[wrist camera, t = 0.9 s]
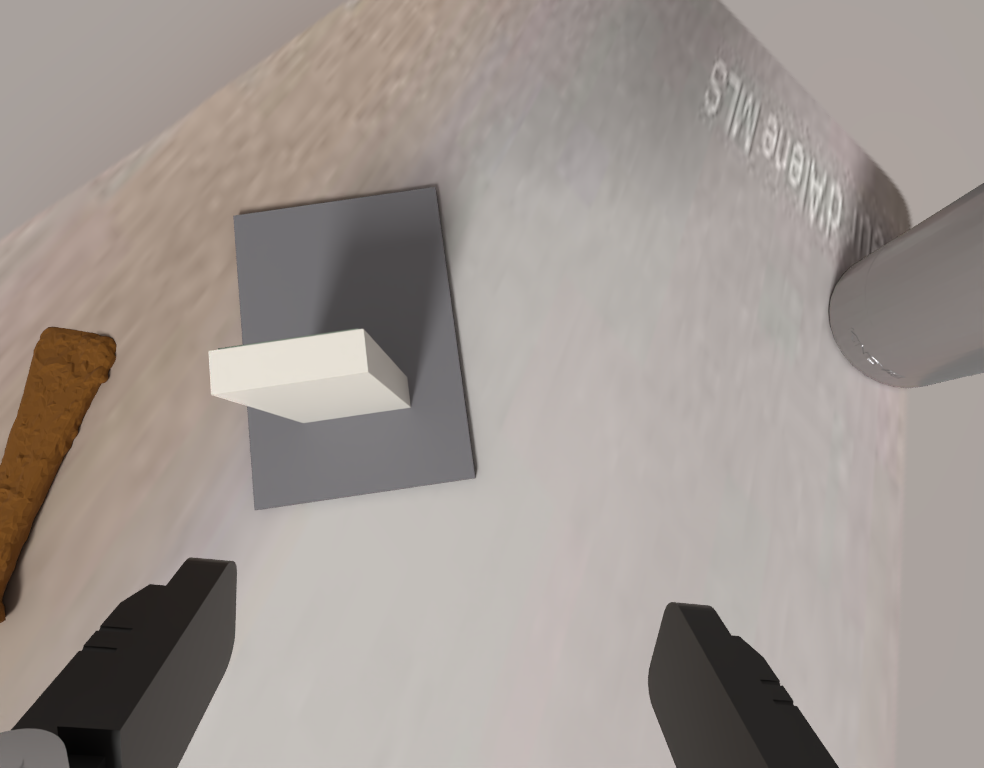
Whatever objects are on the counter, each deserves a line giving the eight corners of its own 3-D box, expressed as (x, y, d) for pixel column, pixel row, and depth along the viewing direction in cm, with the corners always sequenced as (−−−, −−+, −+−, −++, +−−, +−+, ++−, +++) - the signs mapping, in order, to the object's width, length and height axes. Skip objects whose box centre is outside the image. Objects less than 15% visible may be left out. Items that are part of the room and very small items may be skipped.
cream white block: (300, 390, 38) (208, 347, 26) (407, 375, 38) (363, 325, 26) (303, 423, 38) (211, 394, 26) (410, 407, 38) (368, 372, 26)
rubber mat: (237, 219, 41) (233, 215, 40) (436, 191, 41) (435, 186, 40) (258, 509, 37) (254, 510, 37) (475, 478, 37) (475, 477, 37)
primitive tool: (49, 327, 40) (7, 312, 37) (126, 339, 40) (90, 325, 37) (-37, 616, 37) (-92, 630, 34) (46, 631, 37) (-1, 647, 33)
